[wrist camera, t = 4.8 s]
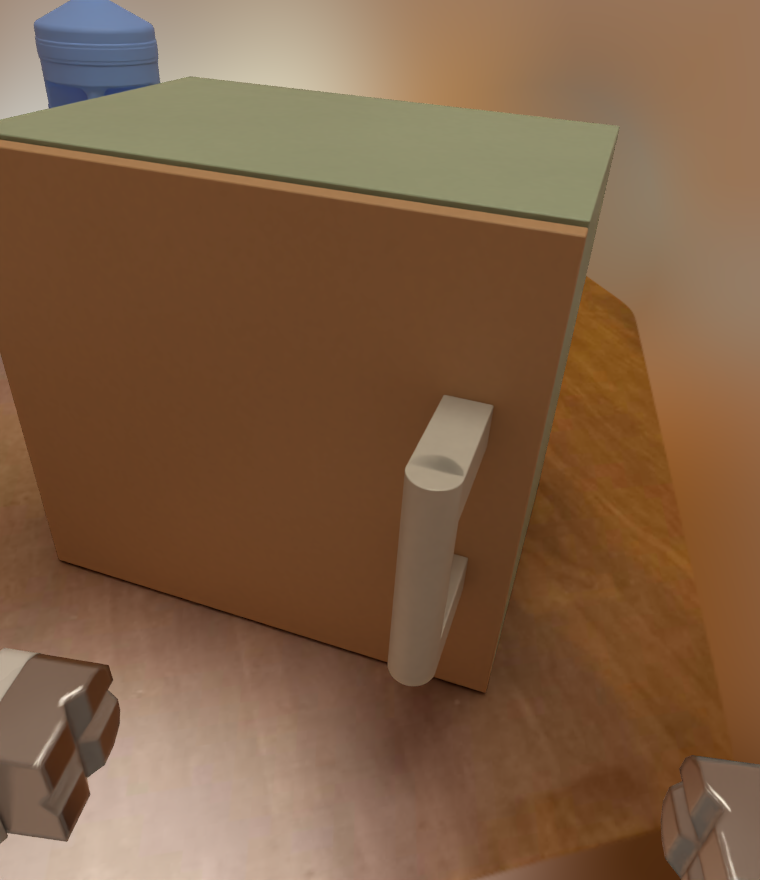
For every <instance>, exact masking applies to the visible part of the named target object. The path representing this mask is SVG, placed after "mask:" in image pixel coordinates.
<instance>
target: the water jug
mask: <svg viewBox="0 0 760 880" xmlns="http://www.w3.org/2000/svg"><path fill="white" fill-rule="evenodd" d="M34 29H35V35H36V37H35V40H36V46H37V52H38V55H39V58H40V60H41V65H42V71H43V76H44V81H45V87H46V92H47V97H48V102H49V104H48V106H49V108H54V107H58V106H63V105H67V104H71V103H76V102H80V101H85V100H89V99H93V98H98V97H102V96H107V95H111V94H115V93H120V92H124V91H129V90H133V89H137V88H142V87H146V86H150V85H155V84H159V83H160V78H159V69H158V49H157V43H156V39H155V32H154V28H153V26H152V25H151V24H150V23H149V22H147V21H145V20H143V19H141V18H140V17H138V16H136V15H135V14H133V13H131V12H129V11H127V10H126V9H124V8H122V7H120V6H118V5H117V4H115V3H113V2H111V1H109V0H70V1H68V2H67V3H65V4H63V5H62V6H60V7H58V8H56V9H55V10H53V11H51V12H49V13H48V14H46V15H44V16H43V17H41V18H39V19H37V20H36V21H35V22H34Z"/></svg>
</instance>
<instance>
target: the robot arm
mask: <svg viewBox="0 0 760 880" xmlns="http://www.w3.org/2000/svg"><path fill="white" fill-rule="evenodd" d="M112 681H113V678H112V675H111V671H110V668H109V665H105V664H99V663H93V662H87V661H81V660H74V659H68V658H62V657H56V656H50V655H44V654H40V653H35V652H29V651H22V650H15V649H9V648H3V649H2V650H1V651H0V843H2V842H3V841H4V840H5V839H6V838H7V836H8V835H7V833H12V834H18V835H25V836H32V837H39V838H46V839H53V840H59V841H66V842H67V841H68V839H69V837H70V835H71V833H72V831H73V829H74V827H75V825H76V822H77V820H78V818H79V816H80V814H81V812H82V810H83V808H84V806H85V804H86V802H87V800H88V798H89V796H90V791H89V786H88V780H87V777H89V776H90V775H91V774H93V773H94V772H95V771H97V770H98V769H100V768H101V767H102V766H104V765H105V763H106V761H107V759H108V757H109V755H110V752H111V750H112V748H113V746H114V743H115V739H116V735H117V732H118V728H119V724H120V707H119V703H118V699H117V698H116V697H115V696H114V695H113V694H112V693H111V692H109V691H108V688H109V686H110V685H111V683H112ZM679 770H680V774H681V779H682V782H680V783H678V784H675V785H673V786H671V787H669V790H668V792H667V794H666V796H665V798H664V800H663V806H662V814H661V833H662V842H663V848H664V854H665V859H666V860H667V861H668V862H669V864H670V865H671V866H672V868H673V869H674V870H675V871H676V873H677V874H678V875H679V877H680V880H760V765H759V764H751V763H744V762H737V761H730V760H723V759H715V758H708V757H701V756H694V755H692V756H689V757H687V758H685V760H684V761H683V763H682V765H681V767H680V769H679Z"/></svg>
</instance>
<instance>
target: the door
mask: <svg viewBox="0 0 760 880" xmlns="http://www.w3.org/2000/svg"><path fill="white" fill-rule="evenodd" d="M587 234H588V228H586V227H579V226H572V225H566V224H559V223H552V222H546V221H539V220H532V219H526V218H519V217H512V216H506V215H499V214H492V213H486V212H479V211H472V210H466V209H459V208H452V207H446V206H439V205H432V204H426V203H419V202H412V201H406V200H399V199H392V198H386V197H379V196H372V195H366V194H359V193H352V192H346V191H339V190H332V189H326V188H319V187H312V186H306V185H299V184H292V183H286V182H279V181H272V180H266V179H259V178H252V177H246V176H239V175H232V174H226V173H219V172H212V171H206V170H199V169H192V168H186V167H179V166H172V165H166V164H159V163H152V162H146V161H139V160H132V159H126V158H119V157H113V156H106V155H99V154H93V153H86V152H79V151H73V150H66V149H59V148H53V147H46V146H39V145H33V144H26V143H19V142H13V141H6V140H0V353H1V357H2V360H3V364H4V368H5V371H6V375H7V378H8V382H9V385H10V389H11V392H12V396H13V400H14V403H15V407H16V410H17V414H18V417H19V421H20V424H21V428H22V432H23V435H24V439H25V442H26V446H27V449H28V453H29V456H30V460H31V463H32V467H33V471H34V474H35V478H36V481H37V485H38V488H39V492H40V495H41V499H42V503H43V506H44V510H45V513H46V517H47V520H48V524H49V527H50V531H51V535H52V538H53V542H54V545H55V549H56V552H57V556H58V559H59V560H62V561H65V562H68V563H72V564H75V565H78V566H81V567H84V568H88V569H91V570H94V571H97V572H100V573H104V574H107V575H110V576H113V577H116V578H119V579H123V580H126V581H129V582H132V583H135V584H139V585H142V586H145V587H148V588H151V589H155V590H158V591H161V592H164V593H167V594H171V595H174V596H177V597H180V598H183V599H187V600H190V601H193V602H196V603H199V604H203V605H206V606H209V607H212V608H215V609H219V610H222V611H225V612H228V613H231V614H234V615H238V616H241V617H244V618H247V619H250V620H254V621H257V622H260V623H263V624H266V625H270V626H273V627H276V628H279V629H282V630H286V631H289V632H292V633H295V634H298V635H302V636H305V637H308V638H311V639H314V640H318V641H321V642H324V643H327V644H330V645H334V646H337V647H340V648H343V649H346V650H350V651H353V652H356V653H359V654H362V655H365V656H369V657H372V658H375V659H378V660H381V661H385V662H388V663H387V664H388V670H389V672H390V674H391V676H392V677H393V678H394V679H395V680H396V681H398V682H399V683H401V684H403V685H407V686H421V685H424V684H426V683H427V682H429V681H430V680H431V679H432V678H433V677H436V678H439V679H442V680H445V681H449V682H452V683H455V684H458V685H461V686H465V687H468V688H471V689H474V690H477V691H481V692H484V693H485V692H486V690H487V686H488V682H489V678H490V674H491V669H492V665H493V660H494V656H495V651H496V647H497V642H498V637H499V633H500V628H501V624H502V619H503V615H504V610H505V606H506V601H507V597H508V592H509V588H510V583H511V578H512V574H513V569H514V565H515V560H516V556H517V551H518V547H519V542H520V538H521V533H522V529H523V524H524V520H525V515H526V510H527V506H528V501H529V497H530V492H531V488H532V483H533V479H534V474H535V470H536V465H537V461H538V456H539V451H540V447H541V442H542V438H543V433H544V429H545V424H546V420H547V415H548V411H549V406H550V402H551V397H552V392H553V388H554V383H555V379H556V374H557V370H558V365H559V361H560V356H561V352H562V347H563V343H564V338H565V333H566V329H567V324H568V320H569V315H570V311H571V306H572V302H573V297H574V293H575V288H576V284H577V279H578V274H579V270H580V265H581V261H582V256H583V252H584V247H585V243H586V238H587Z"/></svg>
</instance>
